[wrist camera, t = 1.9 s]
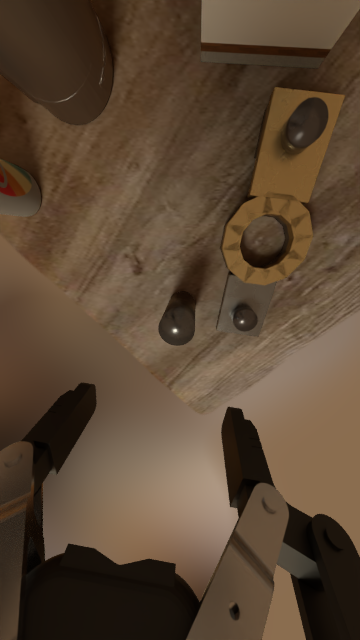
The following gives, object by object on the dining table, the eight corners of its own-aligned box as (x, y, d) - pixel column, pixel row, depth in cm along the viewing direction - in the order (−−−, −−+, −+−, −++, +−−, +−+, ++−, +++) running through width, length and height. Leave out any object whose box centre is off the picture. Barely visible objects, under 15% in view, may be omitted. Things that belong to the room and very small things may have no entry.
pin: (168, 314, 30) (157, 342, 22) (170, 289, 28) (160, 310, 20) (193, 317, 30) (191, 348, 22) (197, 293, 28) (197, 315, 20)
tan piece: (204, 325, 30) (205, 338, 26) (248, 102, 20) (261, 66, 16) (267, 334, 30) (278, 349, 26) (346, 113, 19) (385, 80, 15)
